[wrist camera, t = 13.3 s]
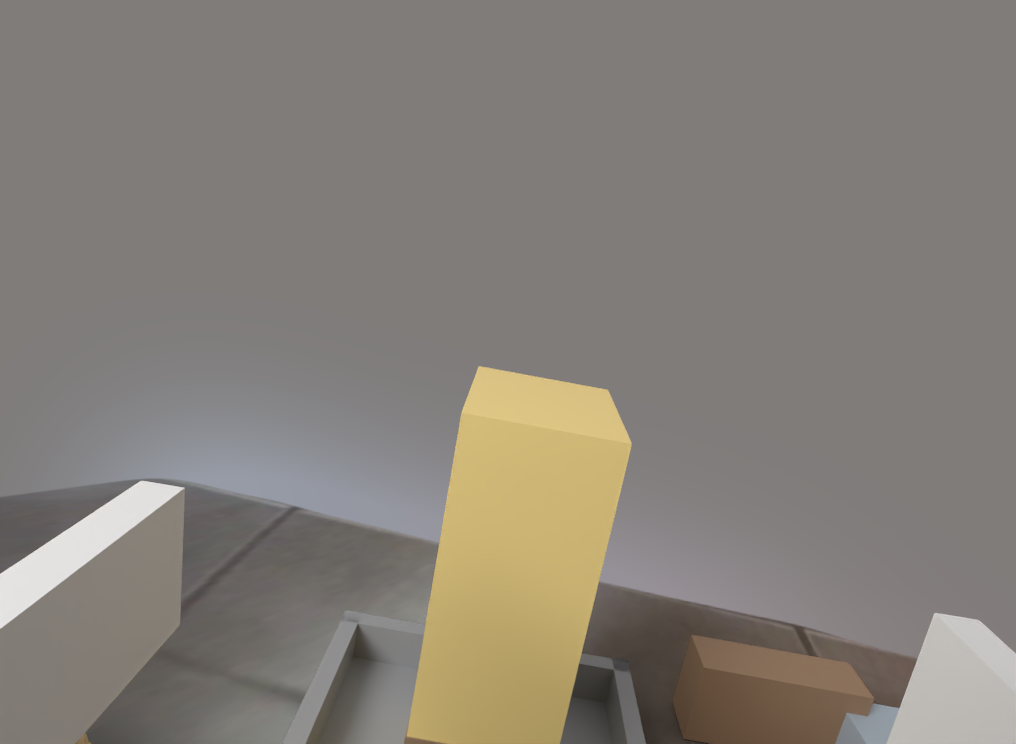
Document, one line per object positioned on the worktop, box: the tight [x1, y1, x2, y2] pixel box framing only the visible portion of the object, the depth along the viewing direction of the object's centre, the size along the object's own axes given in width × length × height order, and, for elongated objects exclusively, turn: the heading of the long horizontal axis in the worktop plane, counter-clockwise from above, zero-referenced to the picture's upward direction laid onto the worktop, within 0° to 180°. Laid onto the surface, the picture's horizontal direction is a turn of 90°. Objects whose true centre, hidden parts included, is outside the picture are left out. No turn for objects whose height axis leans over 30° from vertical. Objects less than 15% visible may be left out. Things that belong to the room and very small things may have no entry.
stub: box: [404, 366, 632, 744], centre depth 23 cm, size 5×6×16 cm
